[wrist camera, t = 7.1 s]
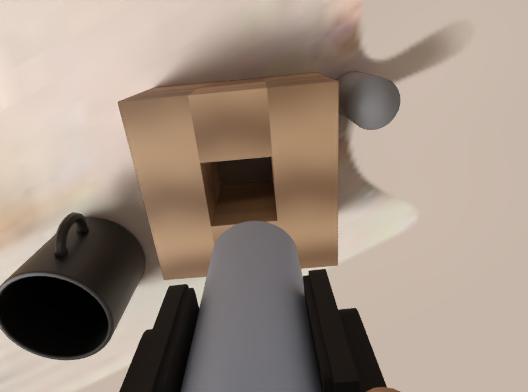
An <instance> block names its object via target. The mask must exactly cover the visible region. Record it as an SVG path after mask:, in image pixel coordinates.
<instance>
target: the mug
mask: <svg viewBox="0 0 528 392" xmlns="http://www.w3.org/2000/svg"><path fill="white" fill-rule="evenodd" d="M144 269H145V258H144V253H143V250H142V248H141V246H140V244H139V242H138V241H137V240H136V238H135V237H134V236H133V235H132V234H131V233H130V232H129V231H127V230H126V229H125V228H123V227H121V226H120V225H118V224H115V223H113V222H111V221H107V220H103V219H97V218H88V219H85V218H84V216H83V215H82V214H79V213H71V214H69V215H68V216H67V217H65V218H64V220H63V221H62V222H61V224H60V225H59V228H58V230H57V233H56V234H55V235H54V236H53V237H52V238H51V239H50V240H49V241H48V242H47V243H46V244H44V245H43V246H42V247H41V248H40V249H39V250H38V251H37V252H36V253H35V254H34V255H33V256H32V257H30V258H29V259H28V260H27V261H26V262H25V263H24V264H23V265H22V266H21V267H20V268H19V269H18V270H16V271H15V272H14V273H13V274H12V275H11V276H10V277H9V278H8V279H7V280H6V281H5V282H4V283H3V284H2V285H1V286H0V329H1V330H2V331H3V332H4V334H5V335H6V336H7V337H8V338H9V339H10V340H12V341H13V342H14V343H15V344H17V345H18V346H20V347H21V348H23V349H25V350H27V351H29V352H31V353H33V354H36V355H39V356H42V357H46V358H50V359H57V360H76V359H81V358H85V357H88V356H91V355H93V354H95V353H97V352H98V351H100V350H101V349H102V348H103V347H105V346H106V344H107V343H108V342H109V340H110V339H111V337H112V335H113V333H114V331H115V329H116V327H117V325H118V323H119V321H120V319H121V317H122V315H123V313H124V311H125V309H126V307H127V305H128V303H129V301H130V299H131V297H132V295H133V293H134V291H135V289H136V287H137V285H138V283H139V281H140V279H141V277H142V275H143V273H144Z"/></svg>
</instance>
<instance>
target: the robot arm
mask: <svg viewBox="0 0 528 392" xmlns="http://www.w3.org/2000/svg"><path fill="white" fill-rule="evenodd" d="M303 284H304V295H305V301H306V306H307V312H308V317H309V322H310V328H311V333H312V339H313V344H314V349H315V355H316V360H317V365H318V371H319V376H320V382H321V387H322V392H400V391H397V390H395V389H392V388H387V387H386V384H385V381H384V378H383V376H382V373H381V371H380V368H379V365H378V363H377V360H376V357H375V355H374V352H373V349H372V347H371V344H370V342H369V339H368V336H367V334H366V331H365V328H364V326H363V323H362V321H361V318H360V316H359V313H358V311H357V309H356V308H351V309H342V310H338V308H337V305H336V302H335V298H334V296H333V292H332V289H331V286H330V282H329V279H328V276H327V272H326V270H325V269H321V270H312V271H309V275H307V276H303ZM198 313H199V306H198V302H197V298H196V294H195V291H194V289H193V288H189V287H188V285H187V284H183V285H174V286H169V288H168V290H167V292H166V295H165V298H164V300H163V303H162V306H161V308H160V311H159V314H158V316H157V319H156V321H155V324H154V327H153V329H150V330H146V331H145V332H144V333H143V335H142V337H141V340H140V342H139V345H138V347H137V350H136V352H135V355H134V357H133V360H132V362H131V364H130V367H129V369H128V372H127V374H126V377H125V379H124V382H123V384H122V387H121V389H120V391H119V392H180V391H181V387H182V383H183V378H184V374H185V370H186V365H187V361H188V357H189V352H190V348H191V343H192V339H193V335H194V330H195V326H196V322H197V317H198Z"/></svg>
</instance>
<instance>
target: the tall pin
mask: <svg viewBox="0 0 528 392" xmlns="http://www.w3.org/2000/svg"><path fill="white" fill-rule="evenodd" d="M180 392H322V387H321V382H320V376H319V371H318V365H317V360H316V355H315V349H314V344H313V339H312V333H311V328H310V322H309V317H308V312H307V306H306V301H305V295H304V284H303V277H302V272H301V267H300V262H299V257H298V252H297V248H296V245H295V243H294V241H293V239H292V238H291V237H290V236H289V234H288V233H287V232H285V231H284V230H283V229H281V228H280V227H278V226H276V225H274V224H271V223H267V222H262V221H248V222H243V223H239V224H237V225H234V226H232V227H230V228H229V229H227V230H226V231H225V232H224V233H223V234H222V235H221V236H220V237H219V238H218V240H217V241H216V243H215V245H214V248H213V252H212V256H211V261H210V265H209V269H208V274H207V278H206V282H205V287H204V291H203V295H202V300H201V304H200V309H199V313H198V317H197V322H196V326H195V330H194V335H193V339H192V343H191V348H190V352H189V357H188V361H187V365H186V370H185V374H184V378H183V383H182V387H181V391H180Z"/></svg>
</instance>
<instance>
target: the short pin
mask: <svg viewBox="0 0 528 392" xmlns="http://www.w3.org/2000/svg"><path fill="white" fill-rule="evenodd" d="M337 81H339V97H338V111H340V112H341V113H342V114H344V115H345V116H346V117H347V118H349V119H350V120H351V121H353V122H354V123H355V124H356V125H358V126H359V127H361V128H363V129H368V130H375V129H379V128H382V127H384V126H386V125H387V124H388V123H389V122H390V121H392V119H393V118H394V117H395V115H396V114H397V112H398V110H399V106H400V94H399V91H398V89H397V87H396V86H395V84H394V83H392V82H391V81H390V80H388V79H385V78H381V77H377V76H373V75H369V74H365V73H361V72H348V73H346V74H344V75H342V76H341V77H340V78H339V79H338V80H337Z"/></svg>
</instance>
